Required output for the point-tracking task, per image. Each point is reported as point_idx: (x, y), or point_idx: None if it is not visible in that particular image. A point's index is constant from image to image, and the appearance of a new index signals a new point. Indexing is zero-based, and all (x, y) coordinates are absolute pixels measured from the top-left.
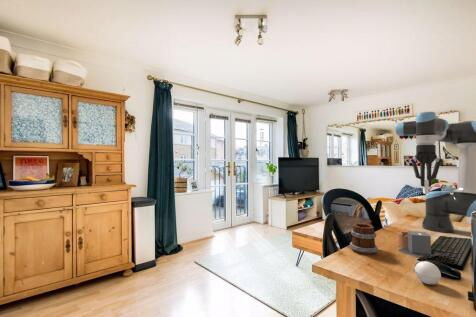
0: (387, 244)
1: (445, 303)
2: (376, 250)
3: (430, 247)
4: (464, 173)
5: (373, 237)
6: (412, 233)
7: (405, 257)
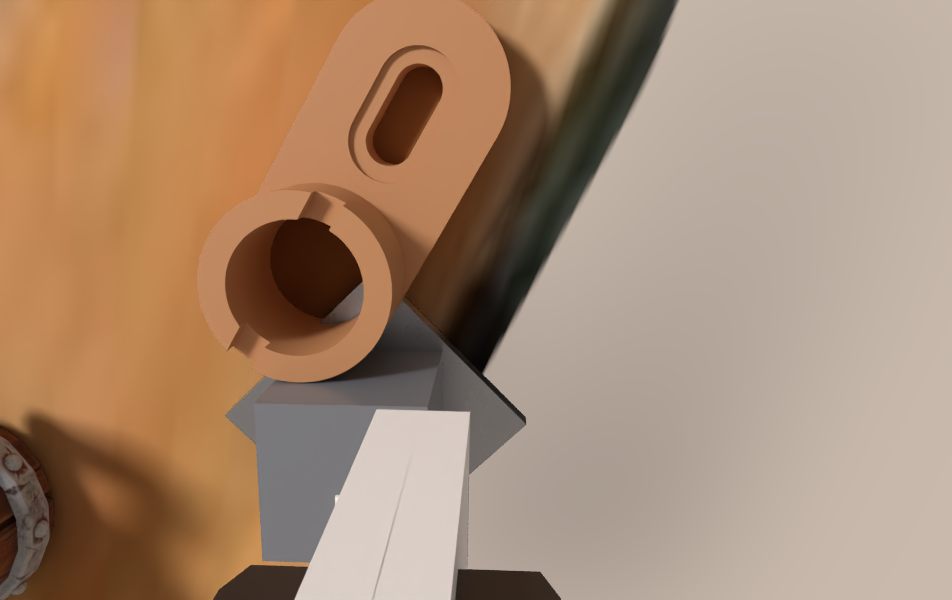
0: (156, 251)
1: None
2: (41, 554)
3: None
4: None
5: None
6: (278, 515)
7: (257, 538)
